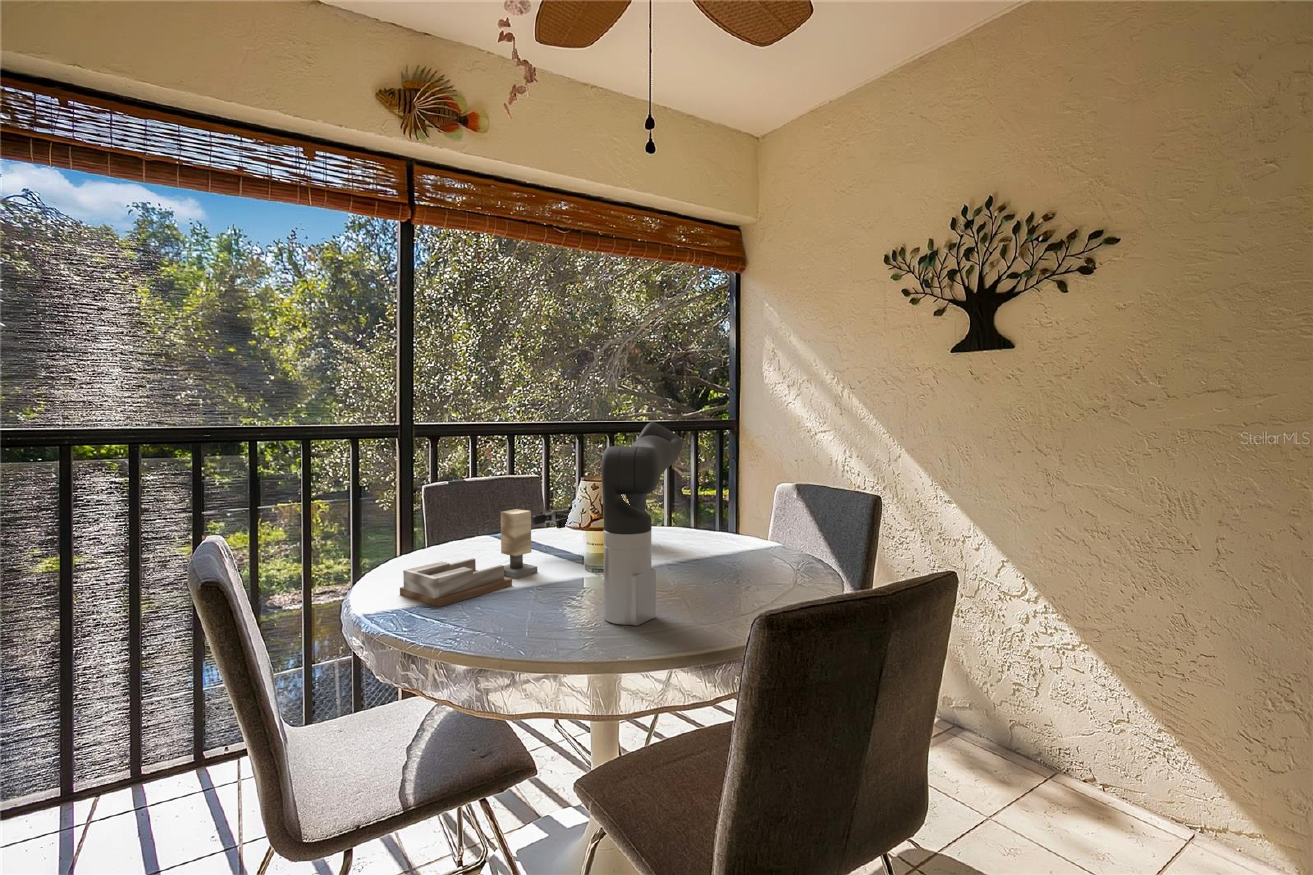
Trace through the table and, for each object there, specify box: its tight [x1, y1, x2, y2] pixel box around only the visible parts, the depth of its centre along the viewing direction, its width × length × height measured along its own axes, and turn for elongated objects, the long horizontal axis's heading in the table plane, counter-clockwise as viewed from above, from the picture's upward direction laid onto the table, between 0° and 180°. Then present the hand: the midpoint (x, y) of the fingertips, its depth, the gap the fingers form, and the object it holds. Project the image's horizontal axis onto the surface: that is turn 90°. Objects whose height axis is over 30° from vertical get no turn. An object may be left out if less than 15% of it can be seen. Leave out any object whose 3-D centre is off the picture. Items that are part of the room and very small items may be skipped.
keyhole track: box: [399, 557, 513, 608], centre depth 146 cm, size 14×19×6 cm
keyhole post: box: [500, 508, 538, 580], centre depth 159 cm, size 7×7×15 cm
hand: (545, 522), depth 167 cm, fingers open, 8 cm apart
